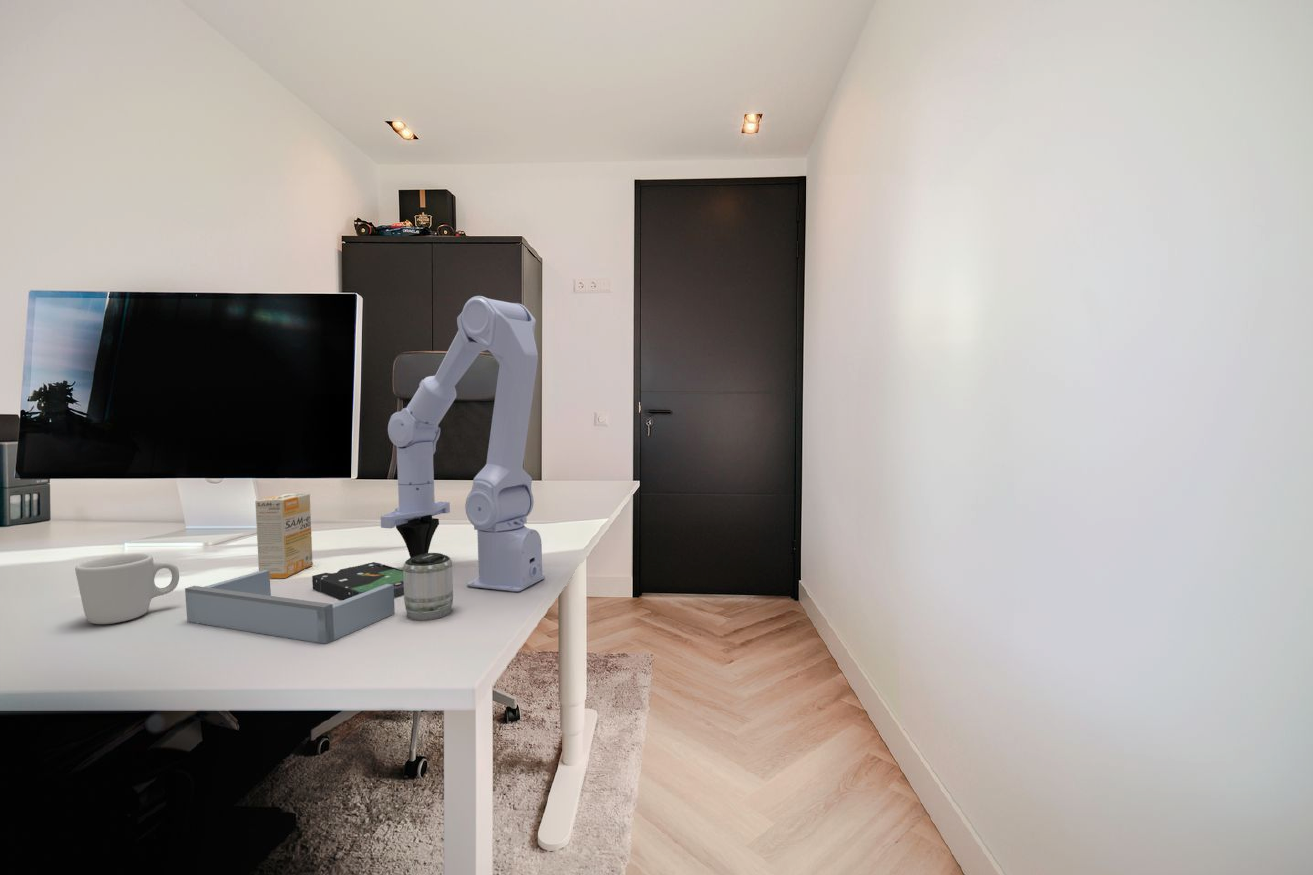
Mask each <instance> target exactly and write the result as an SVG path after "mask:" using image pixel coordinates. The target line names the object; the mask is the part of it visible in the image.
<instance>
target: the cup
mask: <svg viewBox="0 0 1313 875" xmlns="http://www.w3.org/2000/svg"><path fill="white" fill-rule="evenodd" d="M163 569H168V570H169V571H170V574H171V580H170V583H169V584H168V585H167V586H165V587H158V586H156V583H155V577H156V574H157V572H158V571H160V570H163ZM74 570H75V576H76V580H77V585H78V588H79V589H78V590H79V594H80V599H81V604H82V608H83V613H84V616H85V618H86V620H87V621H88V622H90V623H91V624H95V625H111V624H118V623H123V622H128V621H131V620H135V619H137V618H140V617H141V616H143V615H145V614H146V613H147V612H148V611H149V609H150V604H151V601H152V600H153V599H154V598H156V597H159V596H164V595H168V594H169V593H171V592H173V591H175V589H176V588H177V587H178V584H179V580H180V571H179V568H178V566H177V565H176V564H175V563H173V562H171V561H167V560H166V561H165V560H154V558H153V555H152V554H149V553H124V554H123V553H122V554H116V555H109V556H103V557H97V558H94V559H93V558H92V559H90V560H85V561H83V562H81V563H78V564H77V565H75V569H74Z"/></svg>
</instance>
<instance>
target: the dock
mask: <svg viewBox="0 0 1313 875" xmlns="http://www.w3.org/2000/svg"><path fill="white" fill-rule="evenodd" d="M184 591H185V592H184V594H185V608H186V609H185V610H186V622H187V621H191V622H190V623H193V622H196V623H195V624H199V623H202V624H201V625H205V624H206V626H207V625H208V626H214V627H218V628H225V629H231V630H237V631H243V632H250V633H256V634H262V635H268V636H275V637H280V638H286V639H287V638H288V639H293V640H297V641H299V640H300V641H304V642H305V641H306V642H311V643H317V644H322V645H328V644H329V643H332V642H334V641H336V640H338V639H340V638H344V637H346V636H348V635H349V634H352V633H354V632H357V631H359V630H361V629H363V628H366V627H368V626H369V625H373V624H374V623H377V622H379V621H381V620H384V619H387V618H388V617H390V616H392V615H395V612H396V610H395V608H396V607H395V598H394V585H392V584H385V585H382V586H380V587H377V588H374V589H372V590H369V591H366V592H364V593H361V594H358V595H356V596H353V597H351V598H348V599H345V600H343V601H342V600H340V601H337V602H335V603H328V602H320V601H313V600H305V599H298V598H289V597H283V596H282V597H281V596H276V595H275V596H273V595H272V592H271V591H272V590H271V578H270V571H268V570H262V571H259V570H258V571H255V572H252V573H248V574H244V575H241V576H238V577H234V578H230V579H225V580H224V581H220V582H217V583H213V584H209V585H205V586H201V585H200V586H198V585H193V586H188V587H186V588H184ZM197 622H198V623H197Z"/></svg>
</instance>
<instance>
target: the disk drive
mask: <svg viewBox="0 0 1313 875" xmlns="http://www.w3.org/2000/svg"><path fill="white" fill-rule="evenodd" d="M311 577H312V580H311V581H312V582H311V583H312V590H314V591H315V592H318V593H321V594H324V595H327V596H330V597H332V598H334V599H337V600H340V601H343V600H345V599H348V598H351V597H353V596H356V595H358V594H361V593H364V592H366V591H369V590H372V589H374V588H377V587H380V586H382V585H385V584H392V585H394V599H395V598H399V597H403V596H404V579H403V569H402V568H401V569H400V568H397V567H393V566H390V565H386V564H383V563H380V562H376V561H373V562H368V563H363V564H359V565H356V566H351V567H350V566H349V567H345V568H342V569H339V570H338V571H337V572H333V573H332V572H331V573H330V572H323V573H320V574H315V575H312V576H311Z"/></svg>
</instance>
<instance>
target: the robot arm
mask: <svg viewBox="0 0 1313 875" xmlns="http://www.w3.org/2000/svg"><path fill="white" fill-rule="evenodd" d="M456 322H457V328H458V330H457V332H456V335H455V337H454V338H453V339H452V342H451V344H450V346H449V348H448V350H447V351H446V354H445V356H444V358H443V359H442V362H440V365H439V368H438V370H437V372H436V373H435V375H429V376H425V378H424V379H421V381H420V382H419V384H418V388H417V390H416V392H415V393H414V394H413V397H412V398H411V400H410V401H409V403H408V404H407V406H406V407H404V408H402V409H401V411H396V412H394V413H393V414H391V416H390V418H389V420H388V424H387V434H388V438H389V440H390V442H391V443H392V444H393V445H394V446H396V462H397V464H396V465H397V493H398V507H395V510H393V511H391V512H389V513H386V514H384V515H381V516H380V528H381V529H394V528H396V530H397V531H398V533H399V534H400V536H401V537H402V539H403V541H404V544H405V546H406V549H407V552H408V555H409V557H410V558H412V557H414V556H417V555H420V554H423V555H424V554H425V553H429V549H430V546H431V542H432V540H433V536H434V535H435V532H436V530H437V528H438V527H439V525H440V519H439V518H435V517H434V516H438V515H441V514H449V513H451V508H450V506H451V504H450V501H436V502H435V479H434V478H435V475H434V474H435V472H434V454H435V453H436V452H437V450H436V446H437V441H438V440H439V438H440V435H441V427H439V425H440V423H441V422H442V420H443V418H444V416H445V415H446V413H447V412H448V411H449V409H450V408H451V406H452V405H453V403H454V401H455V399H456V398H457V390H456V387H455V386H457V383H458V382H459V381H460V380H461V378H462V377H463V376H464V374H466V372H467V371H468V369H469V368H470V367H471V366H472V364H473V362H475V361H476V358H477V357H478V356H479V355H480V353H482V352H485V351H487V352H488V351H489V353H491V355H492V357H493V358H494V359H495V360H496V361H497V363H498V366H499V367H498V374H497V382H496V389H495V396H494V404H493V412H492V418H491V426H490V427H491V428H490V435H489V442H488V448H487V456H486V464H485V465H484V466H483V468H481V469H480V470H479V472H477V474H476V475H475V476H474V477H473V481H472V487H471V489H470V492H469V493H468V495H467V497H466V499H465V504H464V506H465V508H464V509H465V515H466V516H467V518H468V521H469V522H470V524H472V525H473V530H476V532H477V534H476V535H477V557H478V559H477V560H478V561H477V562H478V577H477V578H475V579H473V580H471V581H469V582H467V583H466V587H471V588H480V589H490V590H497V591H498V590H499V591H509V592H521V591H523V590H525V589H526V588H528V587H530V586H533V585H534V584H536V583H538V582H540V581H542V580H544V579H545V578H546V575H545V574H543V553H542V552H543V551H542V550H543V549H542V546H543V545H542V538H541V535H540V533H539V531H538V530H536V529H532V528H528V527H527V526H526V525H525V524H527V520H528V519H527V517H528V516H529V515H530V514H531V513H532V511H533V508H534V502H535V501H534V495H533V491H532V483H533V482H532V481H533V478H532V476H531V475H530V474H529V473H528V472H527V471H525V469H524V468H523V465H524V460H525V453H526V447H527V439H528V431H529V424H530V417H531V411H532V410H531V409H532V404H533V396H534V395H533V394H534V388H535V383H536V382H535V381H536V374H537V368H538V367H537V366H538V361H539V359H538V358H539V354H538V349H537V344H536V339H535V331H536V329H535V328H536V322H537V320H536V318H535V317H534V316H533V314H531V312H530V311H529V310H528V308H527V307H526V306H524V305H523V304H521V303H519V302H509V301H503V300H497V299H492V298H488V297H485V296H482V295H475V296H473V297H471V298H469V299H468V300H467V301H466V302H465V304H464V305H463V308H462V311H461V313H459V315H458V316H457V317H456ZM410 558H409V559H410Z"/></svg>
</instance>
